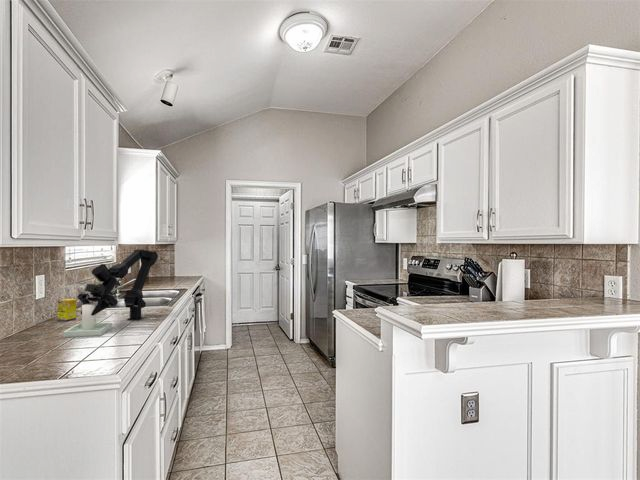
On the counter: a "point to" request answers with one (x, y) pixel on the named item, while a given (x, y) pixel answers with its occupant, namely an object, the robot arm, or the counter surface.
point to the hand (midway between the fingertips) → (86, 314)
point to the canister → (88, 317)
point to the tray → (78, 332)
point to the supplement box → (66, 309)
